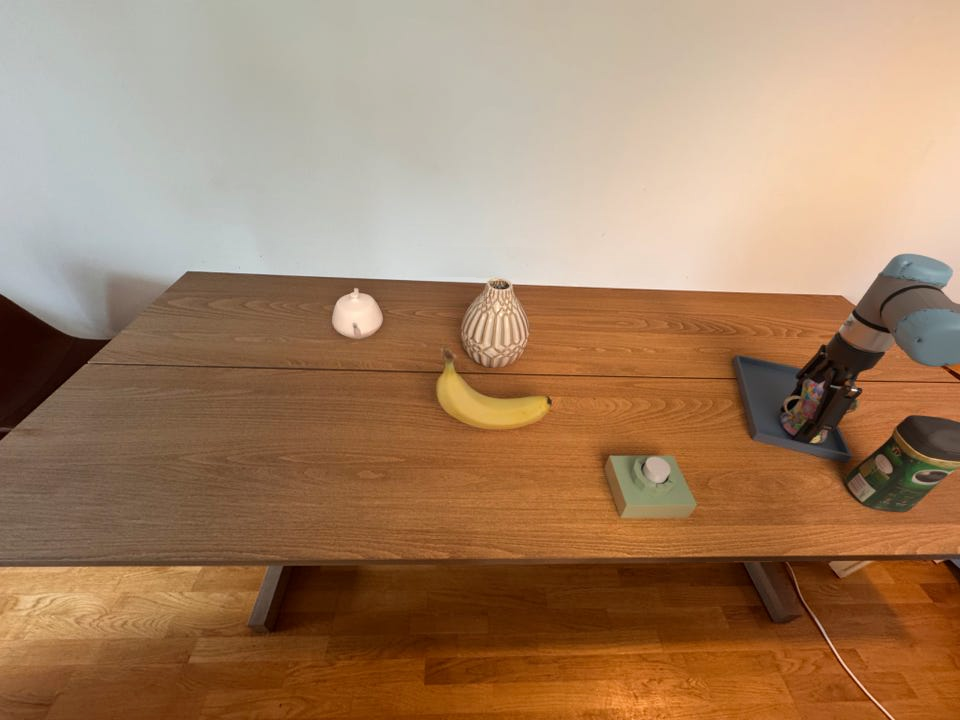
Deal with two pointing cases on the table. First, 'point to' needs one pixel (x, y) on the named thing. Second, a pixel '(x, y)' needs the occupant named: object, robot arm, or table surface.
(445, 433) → the table surface
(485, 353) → the vase
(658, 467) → the button
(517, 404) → the banana
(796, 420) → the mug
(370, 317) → the teapot
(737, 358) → the tray
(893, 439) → the coffee jar
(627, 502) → the green button box
